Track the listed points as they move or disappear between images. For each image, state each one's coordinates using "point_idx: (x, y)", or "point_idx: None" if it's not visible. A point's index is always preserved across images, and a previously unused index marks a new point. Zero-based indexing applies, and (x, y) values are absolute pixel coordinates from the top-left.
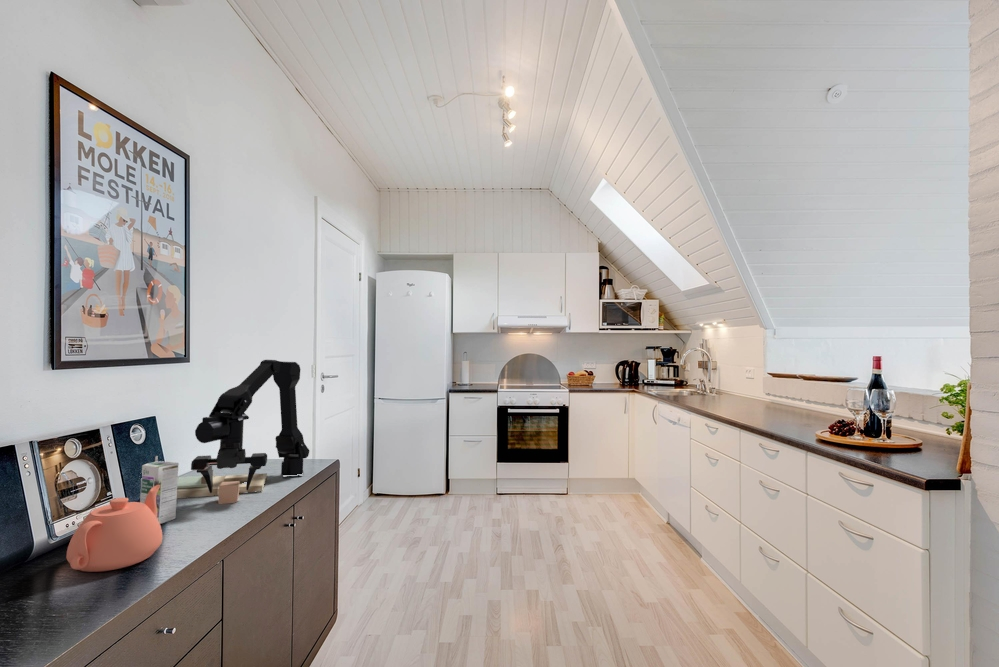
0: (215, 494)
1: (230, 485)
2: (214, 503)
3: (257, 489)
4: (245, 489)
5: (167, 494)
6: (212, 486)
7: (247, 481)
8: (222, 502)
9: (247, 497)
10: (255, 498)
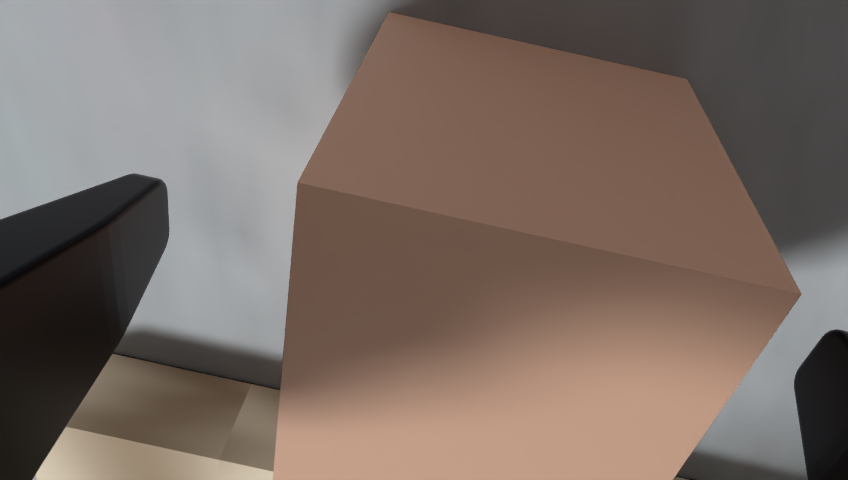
0: None
1: (488, 234)
2: (735, 145)
3: (110, 387)
4: (259, 431)
5: None
6: (833, 471)
7: (8, 271)
8: (626, 72)
9: (230, 217)
10: (99, 109)
